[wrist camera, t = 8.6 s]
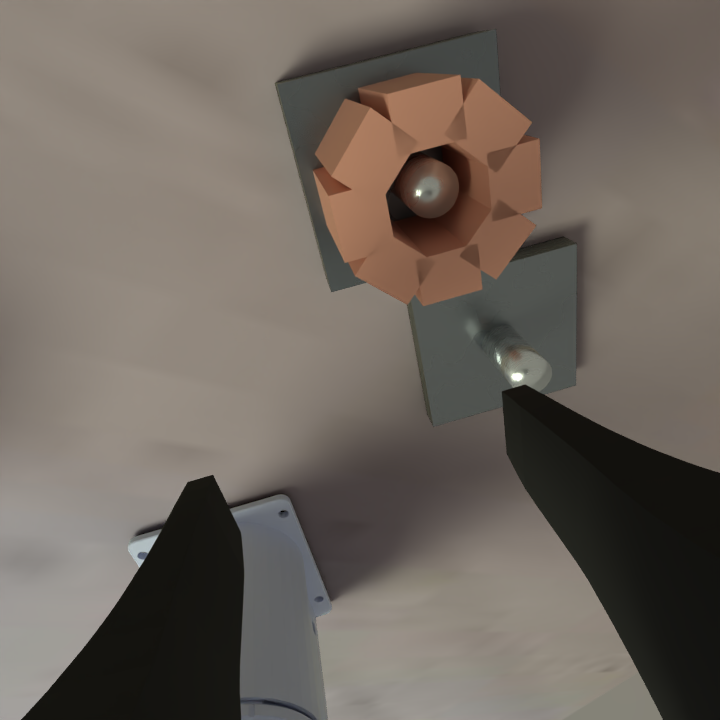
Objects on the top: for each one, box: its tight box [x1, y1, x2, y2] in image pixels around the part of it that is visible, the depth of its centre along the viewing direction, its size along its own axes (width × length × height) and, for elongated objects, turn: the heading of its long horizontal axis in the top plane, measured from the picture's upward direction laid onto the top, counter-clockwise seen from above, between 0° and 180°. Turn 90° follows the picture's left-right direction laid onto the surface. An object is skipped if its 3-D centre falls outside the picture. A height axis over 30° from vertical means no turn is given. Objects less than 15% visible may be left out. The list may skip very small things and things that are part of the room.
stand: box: [407, 237, 577, 427], centre depth 22 cm, size 7×7×4 cm
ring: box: [313, 73, 542, 306], centre depth 16 cm, size 6×6×4 cm
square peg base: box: [275, 29, 500, 292], centre depth 17 cm, size 7×7×4 cm
